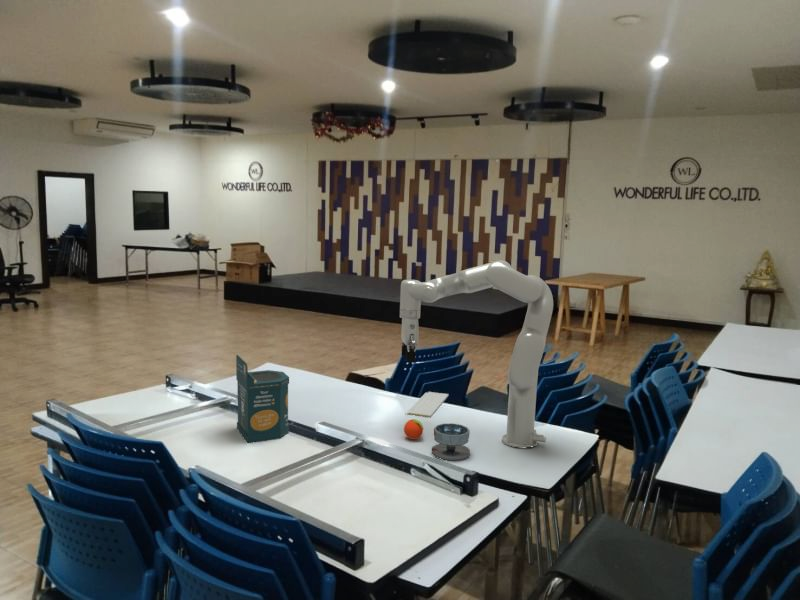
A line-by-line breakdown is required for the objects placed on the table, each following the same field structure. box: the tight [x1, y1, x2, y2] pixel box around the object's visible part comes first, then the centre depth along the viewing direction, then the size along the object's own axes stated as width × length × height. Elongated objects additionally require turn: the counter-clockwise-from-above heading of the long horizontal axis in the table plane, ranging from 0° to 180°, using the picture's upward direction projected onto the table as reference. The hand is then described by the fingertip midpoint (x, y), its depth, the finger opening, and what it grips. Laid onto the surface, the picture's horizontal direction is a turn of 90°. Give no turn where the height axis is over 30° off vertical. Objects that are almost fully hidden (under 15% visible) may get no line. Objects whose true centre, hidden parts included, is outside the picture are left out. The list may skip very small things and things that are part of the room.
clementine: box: [403, 418, 424, 440], centre depth 219 cm, size 8×7×7 cm
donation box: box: [235, 354, 290, 444], centre depth 220 cm, size 16×16×28 cm
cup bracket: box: [431, 422, 471, 462], centre depth 207 cm, size 13×13×8 cm
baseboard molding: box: [404, 389, 450, 418], centre depth 259 cm, size 31×3×12 cm
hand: (408, 358), depth 227 cm, fingers open, 9 cm apart
